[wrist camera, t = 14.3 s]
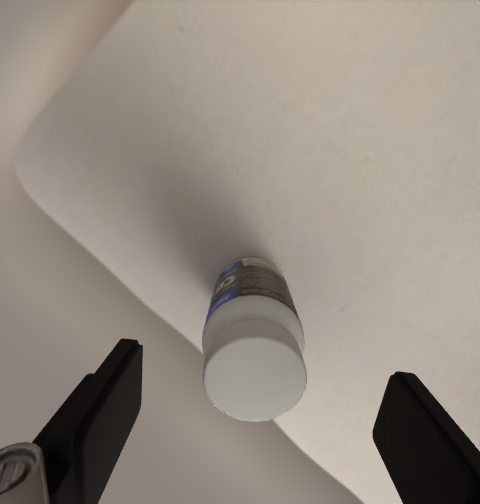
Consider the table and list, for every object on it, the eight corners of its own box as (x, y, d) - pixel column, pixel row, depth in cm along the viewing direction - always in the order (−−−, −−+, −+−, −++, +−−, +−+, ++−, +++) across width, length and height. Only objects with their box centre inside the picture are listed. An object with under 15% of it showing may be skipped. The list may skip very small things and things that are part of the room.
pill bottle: (223, 248, 18) (205, 313, 10) (294, 264, 18) (335, 341, 10) (208, 313, 19) (182, 418, 11) (275, 328, 19) (297, 441, 11)
